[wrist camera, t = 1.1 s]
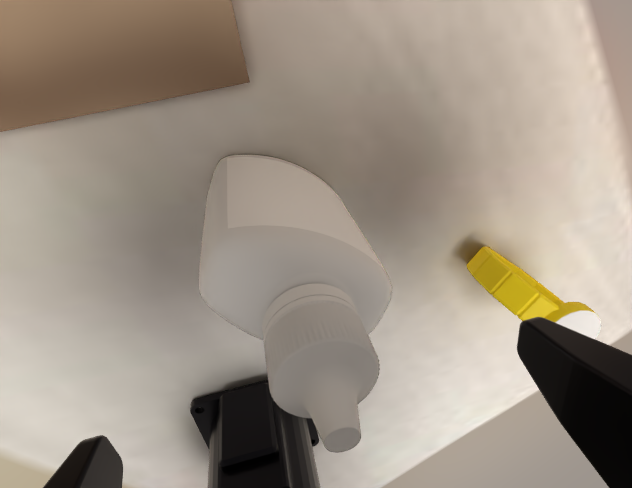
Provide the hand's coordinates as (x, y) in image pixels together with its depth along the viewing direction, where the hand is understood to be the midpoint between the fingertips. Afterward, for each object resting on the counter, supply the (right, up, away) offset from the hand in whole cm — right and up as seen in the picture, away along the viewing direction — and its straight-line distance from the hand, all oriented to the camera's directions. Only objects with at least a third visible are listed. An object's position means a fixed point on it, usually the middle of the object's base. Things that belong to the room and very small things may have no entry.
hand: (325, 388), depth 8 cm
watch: (+10, +2, +14) cm, 17 cm away
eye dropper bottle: (-2, +5, +9) cm, 11 cm away
